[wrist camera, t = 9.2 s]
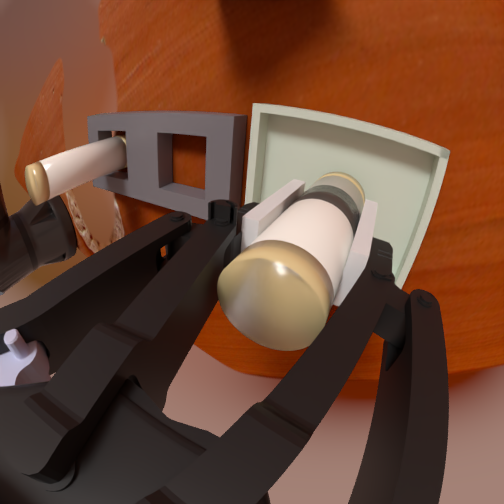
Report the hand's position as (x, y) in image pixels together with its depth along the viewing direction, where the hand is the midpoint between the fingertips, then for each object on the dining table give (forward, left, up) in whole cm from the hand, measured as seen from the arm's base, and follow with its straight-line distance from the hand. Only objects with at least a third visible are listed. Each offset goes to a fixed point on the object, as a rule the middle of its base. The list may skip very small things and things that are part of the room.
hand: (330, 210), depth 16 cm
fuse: (-23, 0, -4) cm, 23 cm away
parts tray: (0, 0, -4) cm, 4 cm away
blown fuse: (0, 0, -3) cm, 3 cm away
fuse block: (-18, 0, -4) cm, 18 cm away
